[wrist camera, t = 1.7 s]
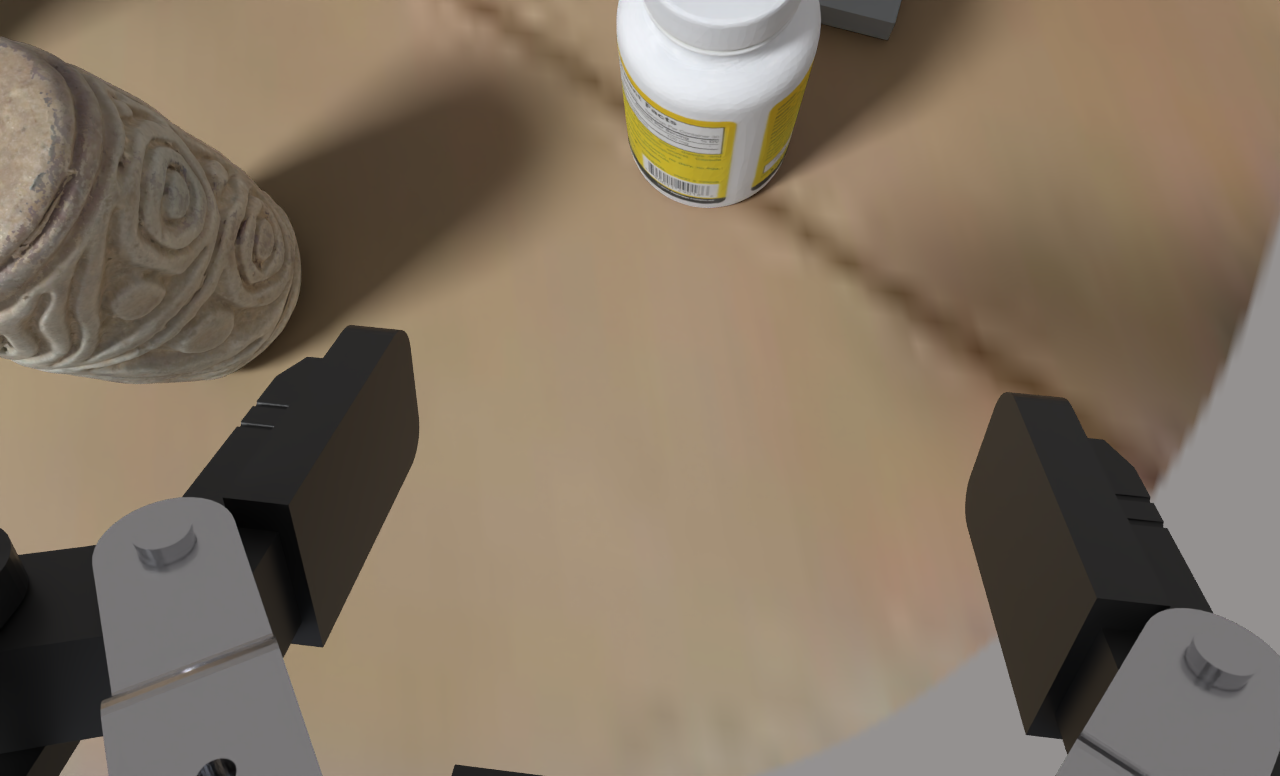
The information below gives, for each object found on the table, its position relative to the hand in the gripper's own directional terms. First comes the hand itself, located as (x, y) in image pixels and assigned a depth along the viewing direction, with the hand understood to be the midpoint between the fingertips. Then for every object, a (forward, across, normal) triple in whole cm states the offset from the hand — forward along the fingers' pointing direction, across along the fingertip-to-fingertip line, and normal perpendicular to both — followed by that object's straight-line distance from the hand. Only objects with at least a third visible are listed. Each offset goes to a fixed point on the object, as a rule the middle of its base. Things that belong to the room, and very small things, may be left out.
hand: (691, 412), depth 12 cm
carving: (+14, +16, +8) cm, 23 cm away
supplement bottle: (+20, 0, +3) cm, 20 cm away
